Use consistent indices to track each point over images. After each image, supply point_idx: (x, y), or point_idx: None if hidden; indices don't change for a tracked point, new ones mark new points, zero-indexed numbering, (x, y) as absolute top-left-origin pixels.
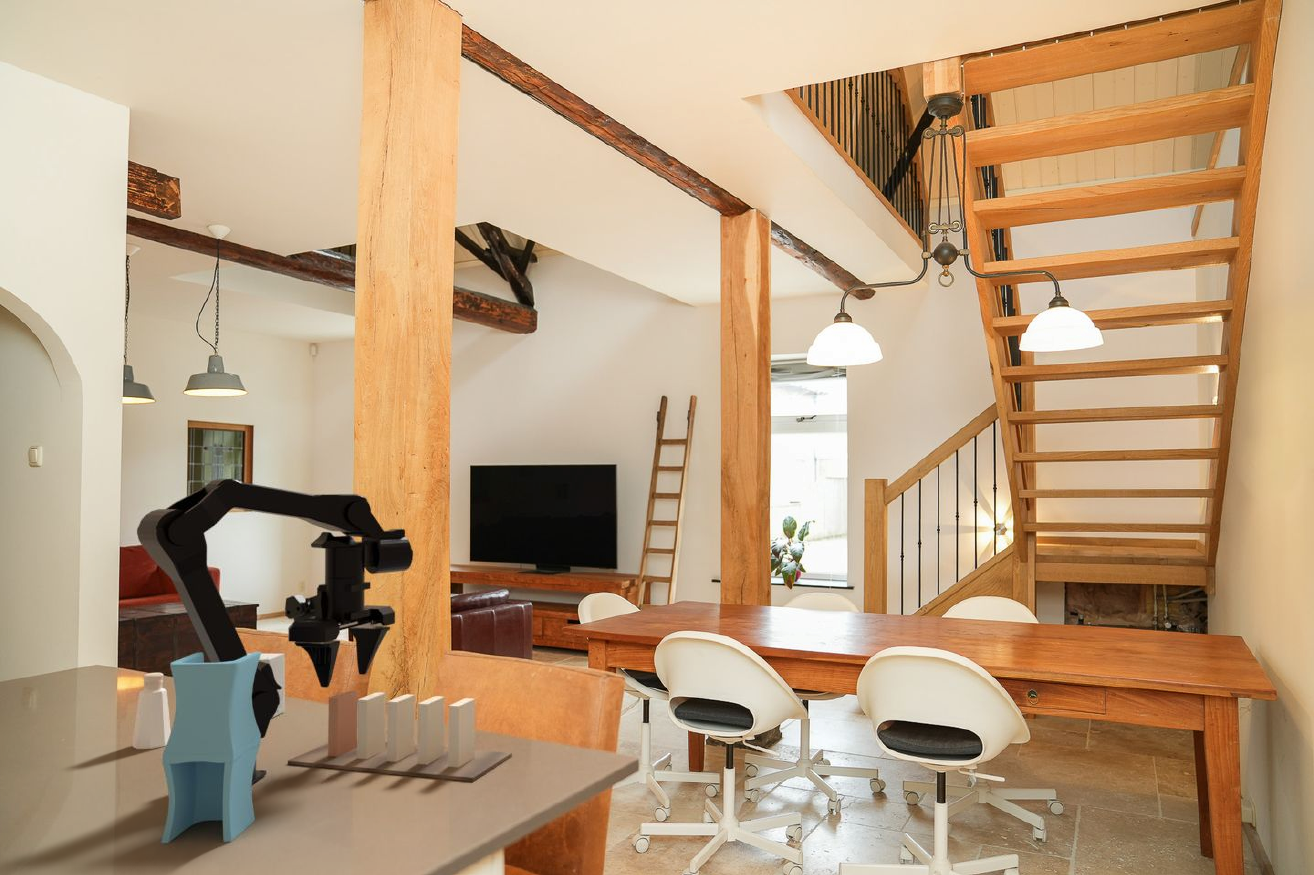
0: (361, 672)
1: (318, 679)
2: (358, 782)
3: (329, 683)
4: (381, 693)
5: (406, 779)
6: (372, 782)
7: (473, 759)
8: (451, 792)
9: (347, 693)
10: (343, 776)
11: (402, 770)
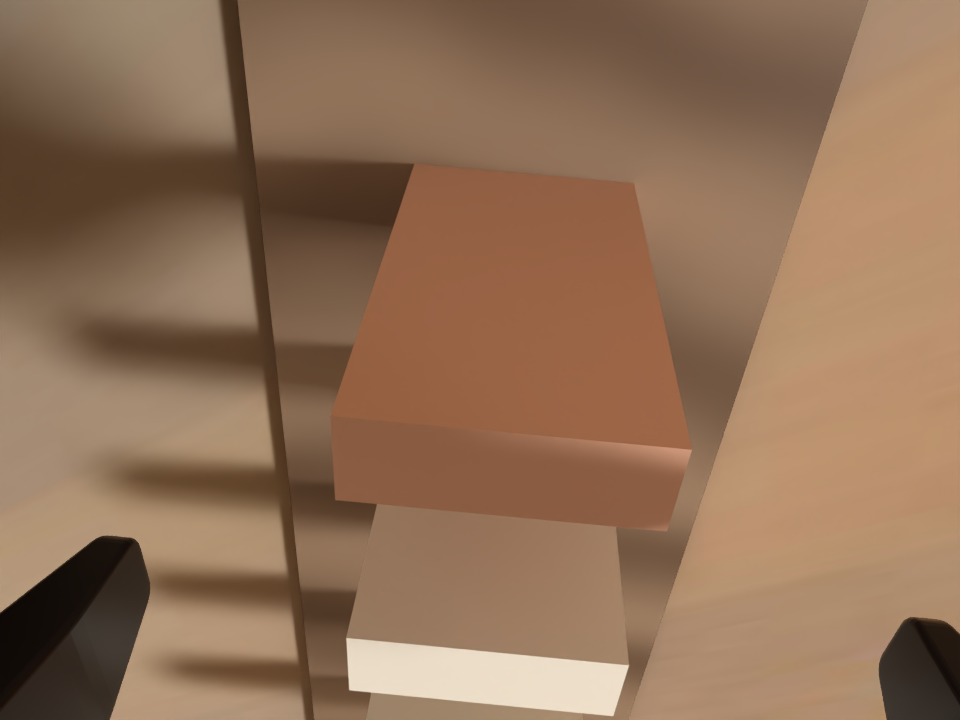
0: (897, 659)
1: (19, 598)
2: (154, 465)
3: (128, 637)
4: (591, 699)
5: (264, 591)
6: (180, 509)
7: None
8: (208, 716)
9: (547, 495)
10: (191, 378)
11: (307, 577)
